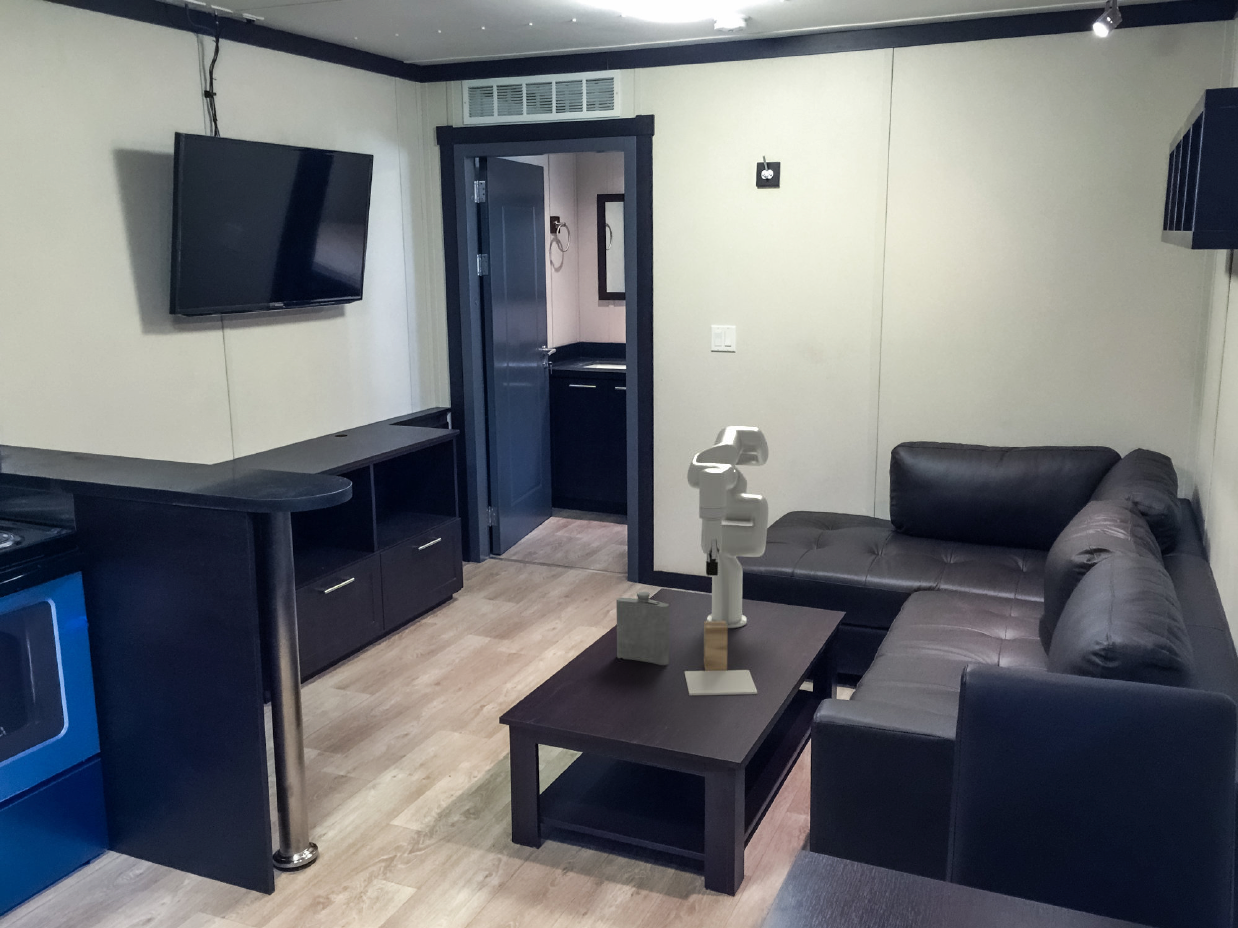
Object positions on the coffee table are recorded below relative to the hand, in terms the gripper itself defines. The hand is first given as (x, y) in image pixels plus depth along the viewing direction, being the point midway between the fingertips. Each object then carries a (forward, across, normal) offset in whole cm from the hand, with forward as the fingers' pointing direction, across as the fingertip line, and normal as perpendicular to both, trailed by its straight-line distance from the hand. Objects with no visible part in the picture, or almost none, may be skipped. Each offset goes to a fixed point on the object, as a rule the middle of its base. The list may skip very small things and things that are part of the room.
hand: (711, 574), depth 302 cm
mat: (+25, +20, 0) cm, 32 cm away
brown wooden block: (+25, +9, 0) cm, 26 cm away
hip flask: (+25, +1, -20) cm, 32 cm away
